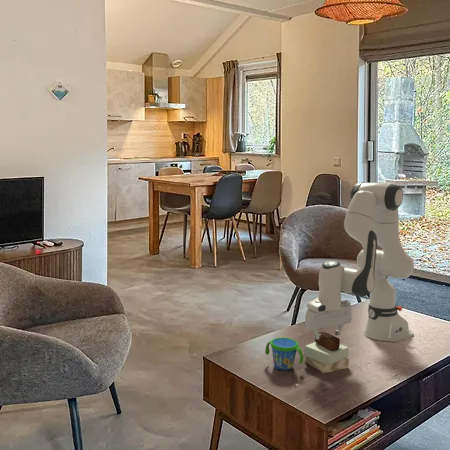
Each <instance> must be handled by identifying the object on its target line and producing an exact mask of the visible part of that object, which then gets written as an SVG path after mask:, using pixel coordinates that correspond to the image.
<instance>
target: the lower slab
mask: <svg viewBox="0 0 450 450" xmlns="http://www.w3.org/2000/svg"><path fill="white" fill-rule="evenodd" d="M349 360H350V359H349V358H348V357H347V358H344V359H342V360H340V361H338V362H335V363H333V364H331V365H327V364H325V363H322V362H320V361H317V360H315V359H312V358H310V357H307V356H305V355H304V362H305V363H307V364H308V365H310V367H313V368H314V369H315V370H317V371H319V372H320V373H321V374H325V373H326V374H327V373H332V372H335V371H340V370H344V369H348V368H349V362H350V361H349Z"/></svg>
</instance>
